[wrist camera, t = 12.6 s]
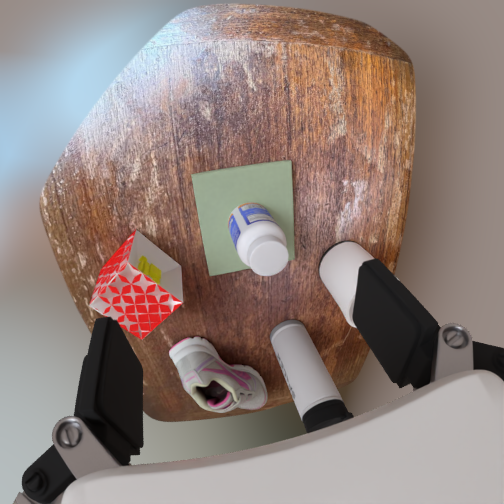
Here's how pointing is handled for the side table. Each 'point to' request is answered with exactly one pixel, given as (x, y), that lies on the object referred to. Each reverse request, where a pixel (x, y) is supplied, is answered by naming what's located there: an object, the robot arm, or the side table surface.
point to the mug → (343, 273)
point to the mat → (234, 194)
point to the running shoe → (216, 378)
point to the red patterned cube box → (138, 286)
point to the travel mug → (307, 377)
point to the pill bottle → (258, 239)
